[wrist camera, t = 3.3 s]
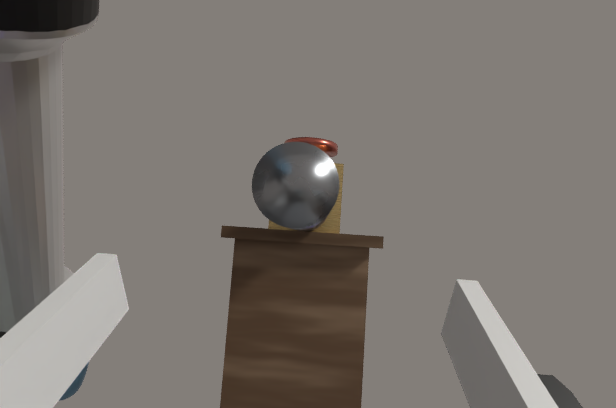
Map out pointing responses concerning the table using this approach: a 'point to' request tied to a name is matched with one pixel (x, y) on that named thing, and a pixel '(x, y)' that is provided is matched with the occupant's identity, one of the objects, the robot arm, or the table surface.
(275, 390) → the stand
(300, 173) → the valve pipe
